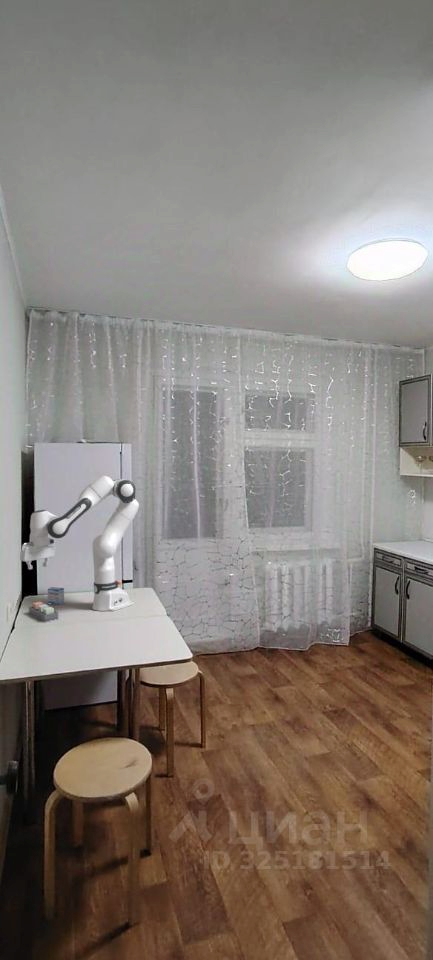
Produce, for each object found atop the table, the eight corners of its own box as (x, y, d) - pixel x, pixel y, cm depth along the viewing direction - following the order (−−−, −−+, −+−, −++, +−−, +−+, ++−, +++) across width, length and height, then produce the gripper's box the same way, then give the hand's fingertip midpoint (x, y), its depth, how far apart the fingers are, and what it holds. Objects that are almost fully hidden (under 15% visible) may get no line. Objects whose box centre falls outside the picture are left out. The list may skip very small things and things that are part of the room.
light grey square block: (45, 609, 260) (45, 604, 260) (48, 611, 257) (48, 605, 257) (37, 611, 257) (37, 605, 257) (41, 613, 254) (40, 607, 254)
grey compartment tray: (42, 610, 267) (41, 604, 267) (58, 619, 252) (58, 612, 252) (29, 613, 262) (28, 606, 262) (44, 622, 247) (44, 615, 247)
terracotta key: (40, 607, 265) (40, 601, 265) (43, 608, 262) (43, 603, 262) (32, 608, 262) (32, 603, 262) (35, 610, 259) (35, 604, 259)
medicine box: (47, 604, 280) (47, 588, 279) (52, 601, 284) (52, 586, 284) (59, 605, 277) (59, 589, 277) (64, 602, 282) (64, 587, 281)
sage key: (50, 612, 255) (50, 606, 255) (54, 614, 252) (53, 608, 252) (43, 614, 252) (42, 608, 252) (46, 615, 249) (46, 610, 249)
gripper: (26, 544, 247) (25, 571, 247) (58, 539, 264) (57, 565, 265) (17, 542, 250) (16, 570, 250) (49, 538, 267) (48, 564, 268)
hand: (37, 567), depth 257 cm, fingers open, 8 cm apart
